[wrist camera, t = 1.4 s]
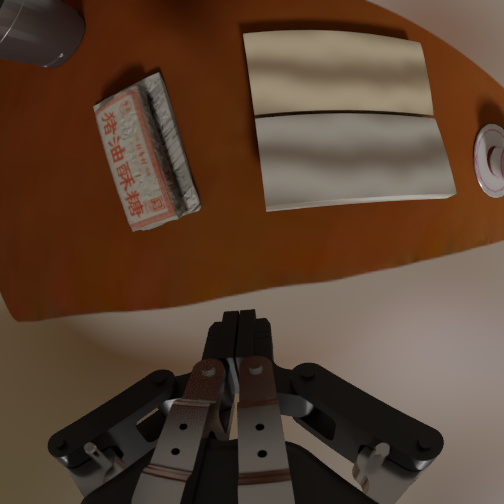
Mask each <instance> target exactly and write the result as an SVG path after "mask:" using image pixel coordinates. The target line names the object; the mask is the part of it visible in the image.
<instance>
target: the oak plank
mask: <svg viewBox="0 0 504 504" xmlns="http://www.w3.org/2000/svg"><path fill="white" fill-rule="evenodd" d="M243 37H244V44H245V51H246V58H247V65H248V72H249V79H250V86H251V93H252V101H253V108H254V116H255V117H263V116H274V115H286V114H301V113H325V112H365V113H389V114H403V115H415V116H432V115H433V106H432V99H431V92H430V86H429V80H428V75H427V70H426V65H425V60H424V56H423V51H422V47H421V43H418V42H413V41H409V40H404V39H398V38H393V37H387V36H380V35H373V34H365V33H356V32H344V31H326V30H286V31H268V32H256V33H246V34H243Z"/></svg>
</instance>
